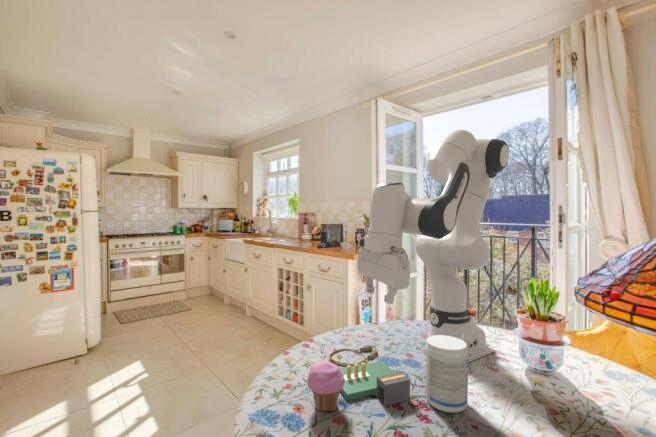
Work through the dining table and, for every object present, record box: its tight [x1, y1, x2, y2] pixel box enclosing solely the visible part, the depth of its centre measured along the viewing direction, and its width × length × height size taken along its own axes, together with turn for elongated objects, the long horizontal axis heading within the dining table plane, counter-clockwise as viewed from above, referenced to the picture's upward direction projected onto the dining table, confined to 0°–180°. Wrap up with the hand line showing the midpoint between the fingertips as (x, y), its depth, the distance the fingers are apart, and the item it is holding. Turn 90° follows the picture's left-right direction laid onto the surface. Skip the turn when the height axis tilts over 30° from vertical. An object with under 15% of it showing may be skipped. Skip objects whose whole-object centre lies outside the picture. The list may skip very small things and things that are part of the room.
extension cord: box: [329, 344, 379, 367], centre depth 100 cm, size 12×16×2 cm
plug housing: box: [375, 371, 411, 406], centre depth 78 cm, size 7×4×5 cm, turn 112°
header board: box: [340, 360, 396, 402], centre depth 85 cm, size 17×12×4 cm
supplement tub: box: [424, 335, 469, 414], centre depth 76 cm, size 10×10×15 cm
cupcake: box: [306, 361, 345, 412], centre depth 74 cm, size 9×9×10 cm
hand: (378, 297), depth 82 cm, fingers open, 8 cm apart
